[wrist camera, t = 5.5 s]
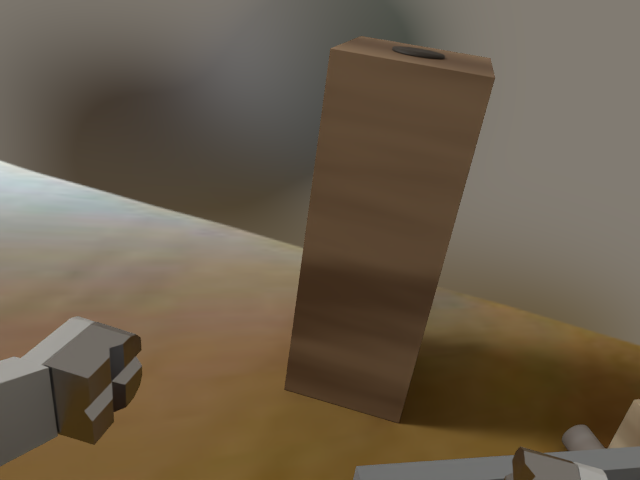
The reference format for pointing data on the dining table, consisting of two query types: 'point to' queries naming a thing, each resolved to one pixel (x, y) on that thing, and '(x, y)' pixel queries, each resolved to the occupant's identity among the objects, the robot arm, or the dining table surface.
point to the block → (381, 216)
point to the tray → (503, 466)
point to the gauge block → (631, 433)
